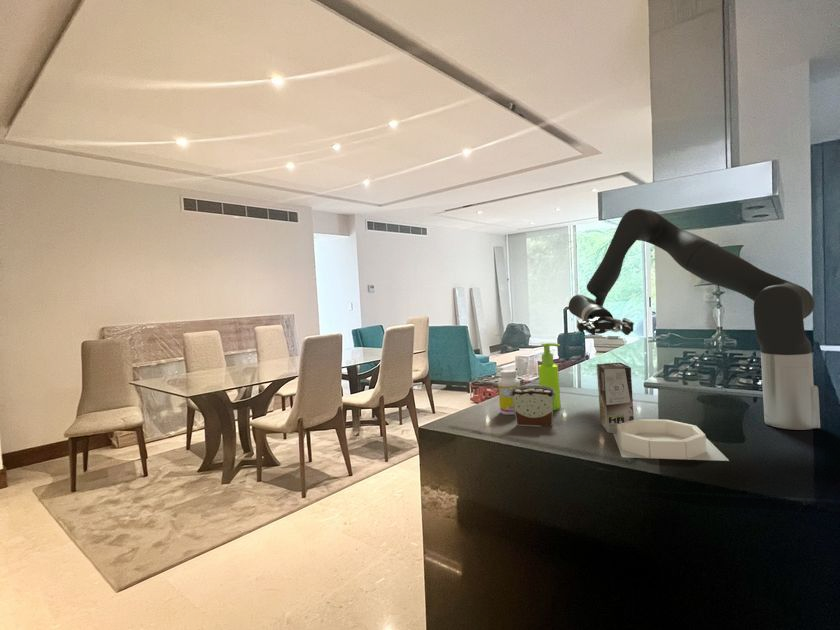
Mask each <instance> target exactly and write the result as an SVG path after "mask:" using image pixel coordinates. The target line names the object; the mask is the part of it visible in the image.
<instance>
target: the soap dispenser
mask: <svg viewBox="0 0 840 630" xmlns="http://www.w3.org/2000/svg"><path fill="white" fill-rule="evenodd" d="M540 346H541V347H543V351H544V352H543V354H541V363H542V364H540V365H538V368H537V369H538V383H539V384H538V385H540V386H548V387H552V388H553V389H554V391H555V394H556V398H555V395H554V399H553V411H555V410H560V409H561V407H562V405H561V390H560V389H561V388H560V379H559V377H560V376H559V364H555V363H554V354H553V353H552V352H551V349H550V347H557V348H558V347H559V346H561V344H559V343H555V342H550V343H549V342H547V343H542V344H541V345H540Z"/></svg>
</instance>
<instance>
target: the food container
mask: <svg viewBox="0 0 840 630" xmlns="http://www.w3.org/2000/svg"><path fill="white" fill-rule="evenodd" d="M554 395H555V398H556V394H555V391H554V389H553V388H552V387H548V386H540V385H539V384H538V385H537V384H536V385H535V384H532V385H531V384H530V385H520V386H519V387H515V388H512V389H511V391H510V396H512V400H513V405H514V411H515V415H514V416H515V420H516V426H520V427H539V428H541V427H542V426H553V421H554V418H553V417H554V410H553V399H554Z"/></svg>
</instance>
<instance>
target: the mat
mask: <svg viewBox="0 0 840 630" xmlns="http://www.w3.org/2000/svg"><path fill="white" fill-rule="evenodd" d="M612 434H613V436H614V439H615V442H616V444H617V447H618V450H619V453H620V456H621V458H629V459H630V458H631V459H632V458H633V459H635V458H636V459H652V458H651V457H650V458H648V457H645V456H642V455H638V454H635V453H632V452H628V451H625V450H622V449H621V447H620V444H619V441H618V434H617V433H612ZM706 451H707V452H705V453H702V454H700V455H697V456H694V457H692V458H689V459H686V460H687V461H689V460H690V461H693V460H695V461H718V462H719V461H725V462H730V460H729V458H727V457H726V455H724V453H722V451H720V450H719V448H717V447H716V446H715V445H714V444H713V443H712V442H711V440H709V439H708V438H707V437H706ZM657 459H662V460H665V459H664V458H656V460H657Z"/></svg>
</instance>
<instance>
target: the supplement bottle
mask: <svg viewBox="0 0 840 630" xmlns="http://www.w3.org/2000/svg"><path fill="white" fill-rule="evenodd" d="M500 376H501V378H500V379H499V380H498V382H497V386H498V398H499V409H500V410H499V411H500V413H501V414H503V415H508V416H511V415H513V416H515V411H514V405H513V400H512V396H510V391H511V389H512V388H515V387H519V386H521V380H520V379H519V378H517V370H515V369H504V370H500Z"/></svg>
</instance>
